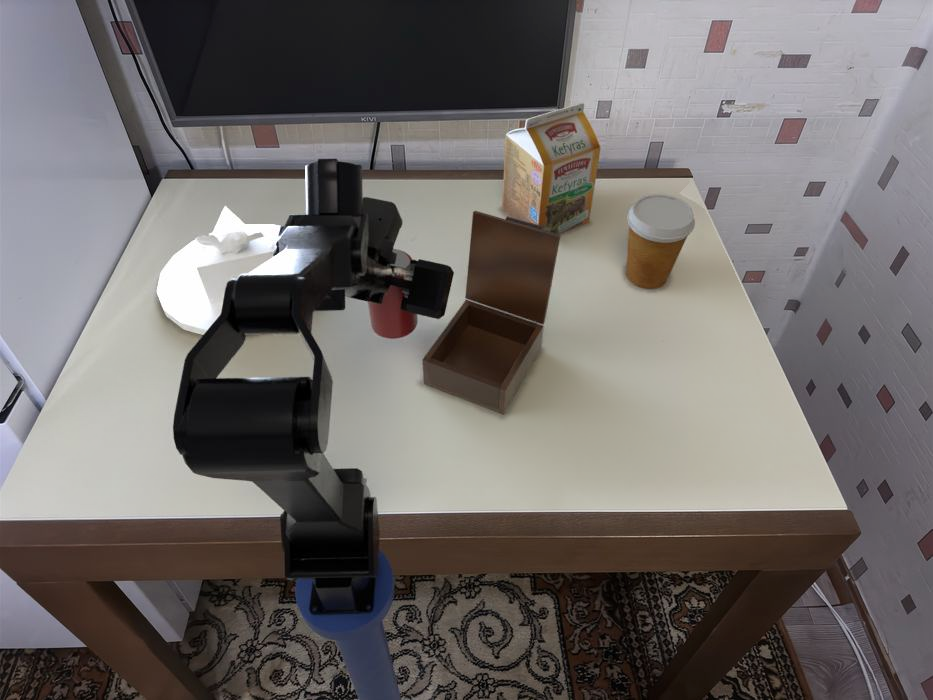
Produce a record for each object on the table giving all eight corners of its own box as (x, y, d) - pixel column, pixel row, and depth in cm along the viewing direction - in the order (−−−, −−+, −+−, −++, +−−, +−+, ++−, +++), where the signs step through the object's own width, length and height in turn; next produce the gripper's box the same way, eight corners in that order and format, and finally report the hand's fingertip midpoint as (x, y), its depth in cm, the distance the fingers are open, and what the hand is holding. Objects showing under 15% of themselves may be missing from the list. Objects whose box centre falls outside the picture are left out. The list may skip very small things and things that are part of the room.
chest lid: (559, 237, 81) (570, 222, 85) (472, 212, 85) (487, 199, 88) (543, 324, 89) (554, 308, 93) (465, 298, 93) (478, 284, 96)
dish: (342, 312, 99) (330, 251, 90) (163, 355, 93) (134, 294, 85) (309, 218, 114) (297, 159, 106) (155, 249, 109) (130, 189, 100)
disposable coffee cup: (691, 280, 103) (711, 216, 94) (646, 305, 100) (663, 240, 91) (646, 248, 109) (662, 184, 100) (602, 270, 105) (614, 206, 96)
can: (417, 338, 88) (412, 278, 81) (369, 339, 88) (360, 279, 80) (418, 306, 92) (413, 246, 85) (372, 307, 92) (364, 247, 85)
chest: (503, 414, 86) (505, 390, 82) (423, 384, 89) (422, 359, 86) (541, 350, 93) (543, 325, 90) (466, 323, 97) (466, 299, 93)
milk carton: (536, 242, 110) (546, 135, 96) (502, 209, 116) (507, 104, 102) (588, 222, 113) (605, 117, 100) (552, 191, 120) (563, 88, 106)
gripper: (446, 210, 69) (478, 235, 84) (284, 179, 73) (342, 208, 88) (422, 316, 70) (458, 322, 85) (263, 279, 74) (324, 291, 89)
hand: (395, 283), depth 87 cm, fingers closed on can, 6 cm apart
